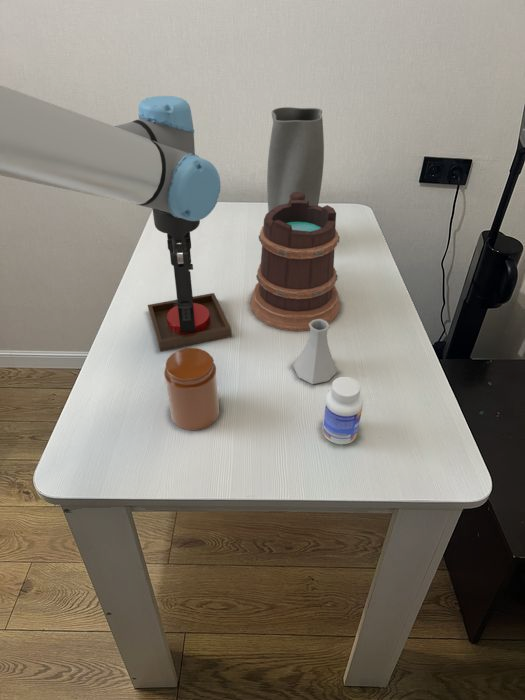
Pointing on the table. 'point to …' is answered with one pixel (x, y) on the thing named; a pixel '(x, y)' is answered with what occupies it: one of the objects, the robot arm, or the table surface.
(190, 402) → the jar
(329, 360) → the flask
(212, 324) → the tray
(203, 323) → the lid
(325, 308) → the mug
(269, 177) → the vase
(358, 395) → the pill bottle
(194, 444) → the table surface
